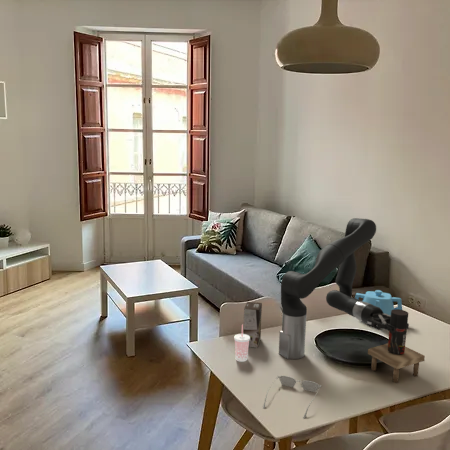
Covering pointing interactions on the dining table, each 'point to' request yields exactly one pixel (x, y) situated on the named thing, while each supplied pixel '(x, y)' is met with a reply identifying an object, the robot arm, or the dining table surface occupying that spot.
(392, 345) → the deodorant
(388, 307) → the teapot
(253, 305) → the coffee box
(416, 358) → the stool
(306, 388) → the eyeglasses
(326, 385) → the dining table surface
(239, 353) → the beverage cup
